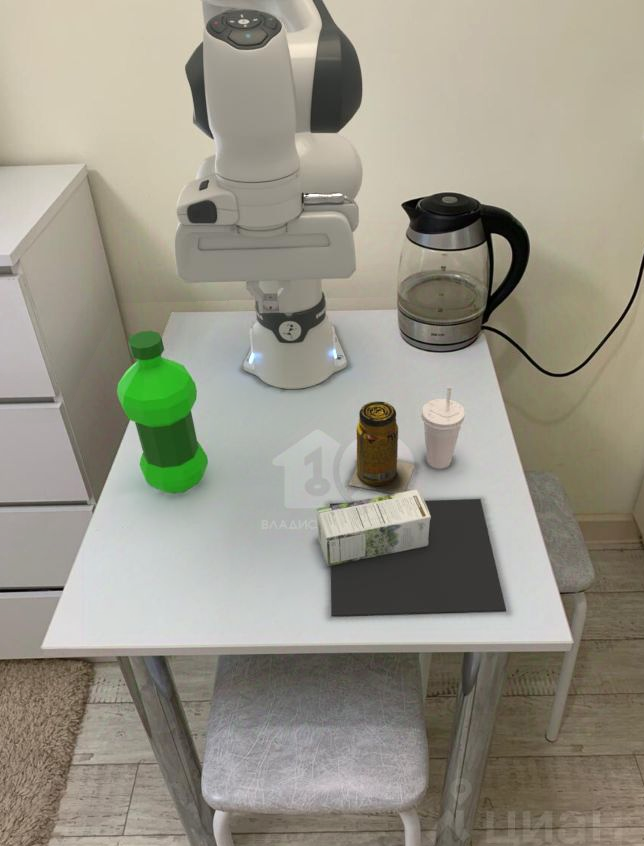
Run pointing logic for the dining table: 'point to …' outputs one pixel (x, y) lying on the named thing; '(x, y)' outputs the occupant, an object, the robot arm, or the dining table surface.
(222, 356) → the dining table surface
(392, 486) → the condiment
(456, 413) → the smoothie
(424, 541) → the syrup box
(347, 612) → the mat
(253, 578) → the dining table surface
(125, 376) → the plastic bottle
